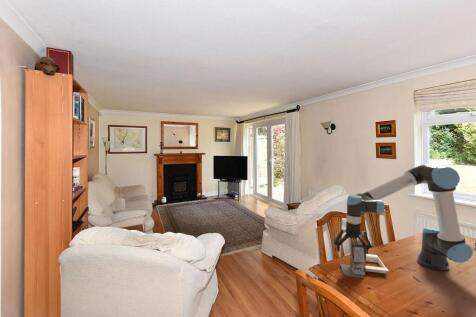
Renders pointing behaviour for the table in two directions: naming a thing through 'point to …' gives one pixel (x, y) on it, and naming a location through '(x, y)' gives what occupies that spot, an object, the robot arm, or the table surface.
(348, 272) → the plate
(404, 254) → the table surface
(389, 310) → the table surface
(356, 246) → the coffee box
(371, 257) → the white flat frame piece
